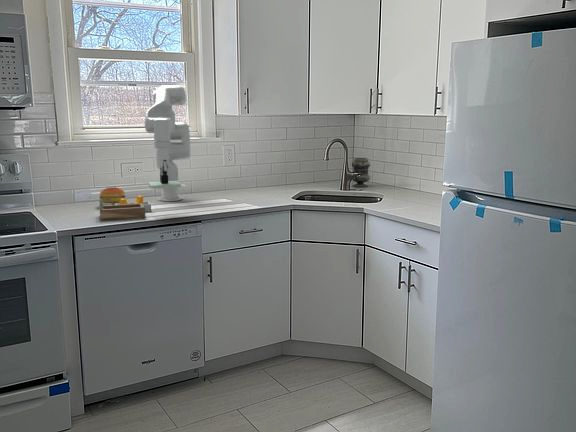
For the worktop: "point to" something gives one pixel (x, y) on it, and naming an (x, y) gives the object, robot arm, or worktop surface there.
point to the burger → (111, 196)
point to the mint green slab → (159, 185)
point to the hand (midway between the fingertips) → (164, 182)
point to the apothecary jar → (361, 171)
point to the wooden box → (121, 211)
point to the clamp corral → (146, 205)
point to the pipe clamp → (138, 200)
